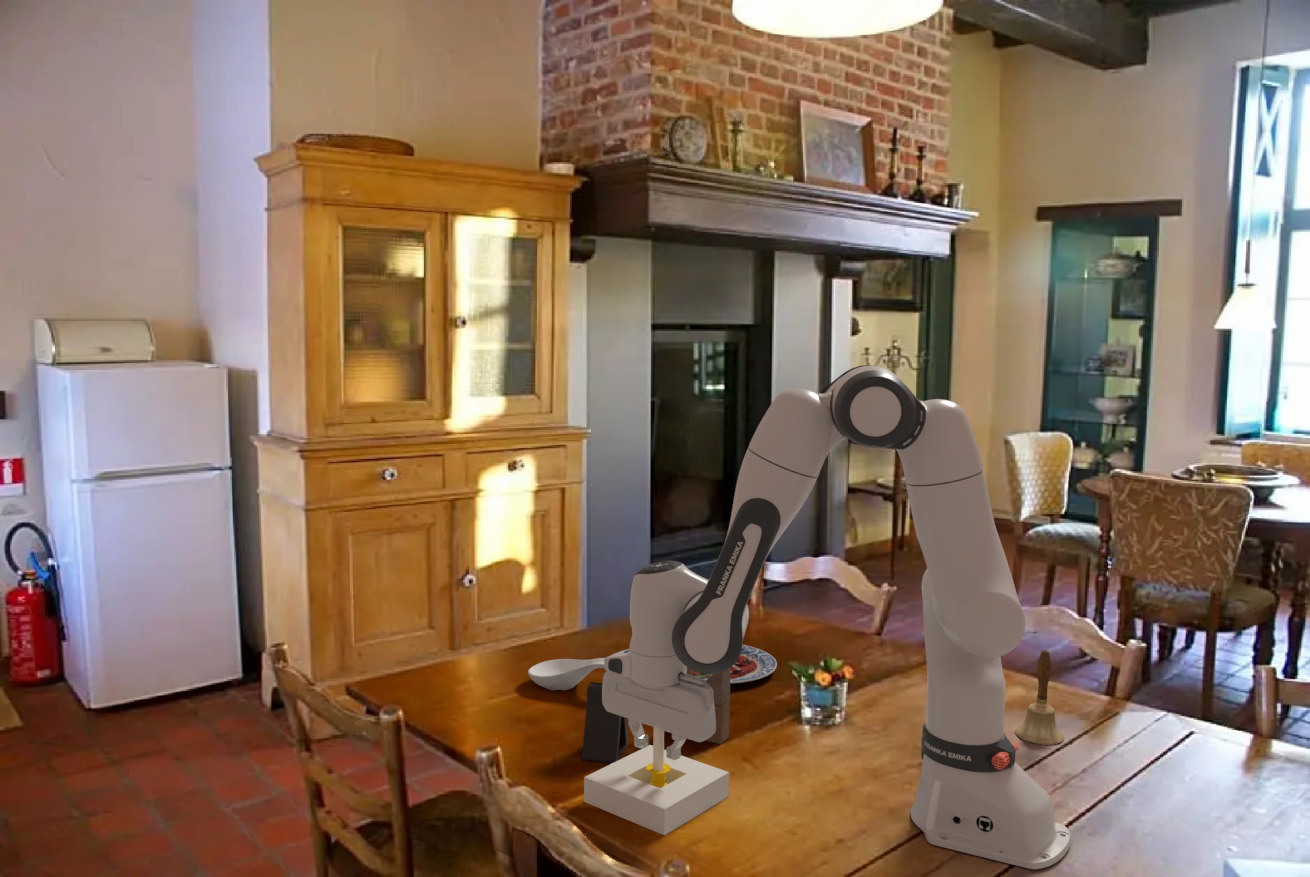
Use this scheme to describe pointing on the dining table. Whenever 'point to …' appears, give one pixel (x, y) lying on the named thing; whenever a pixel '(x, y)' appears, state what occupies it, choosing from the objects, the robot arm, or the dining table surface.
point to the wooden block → (719, 704)
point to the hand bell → (1041, 710)
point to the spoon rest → (563, 672)
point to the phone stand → (602, 729)
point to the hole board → (656, 790)
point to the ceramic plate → (748, 666)
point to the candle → (658, 760)
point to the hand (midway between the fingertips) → (657, 752)
